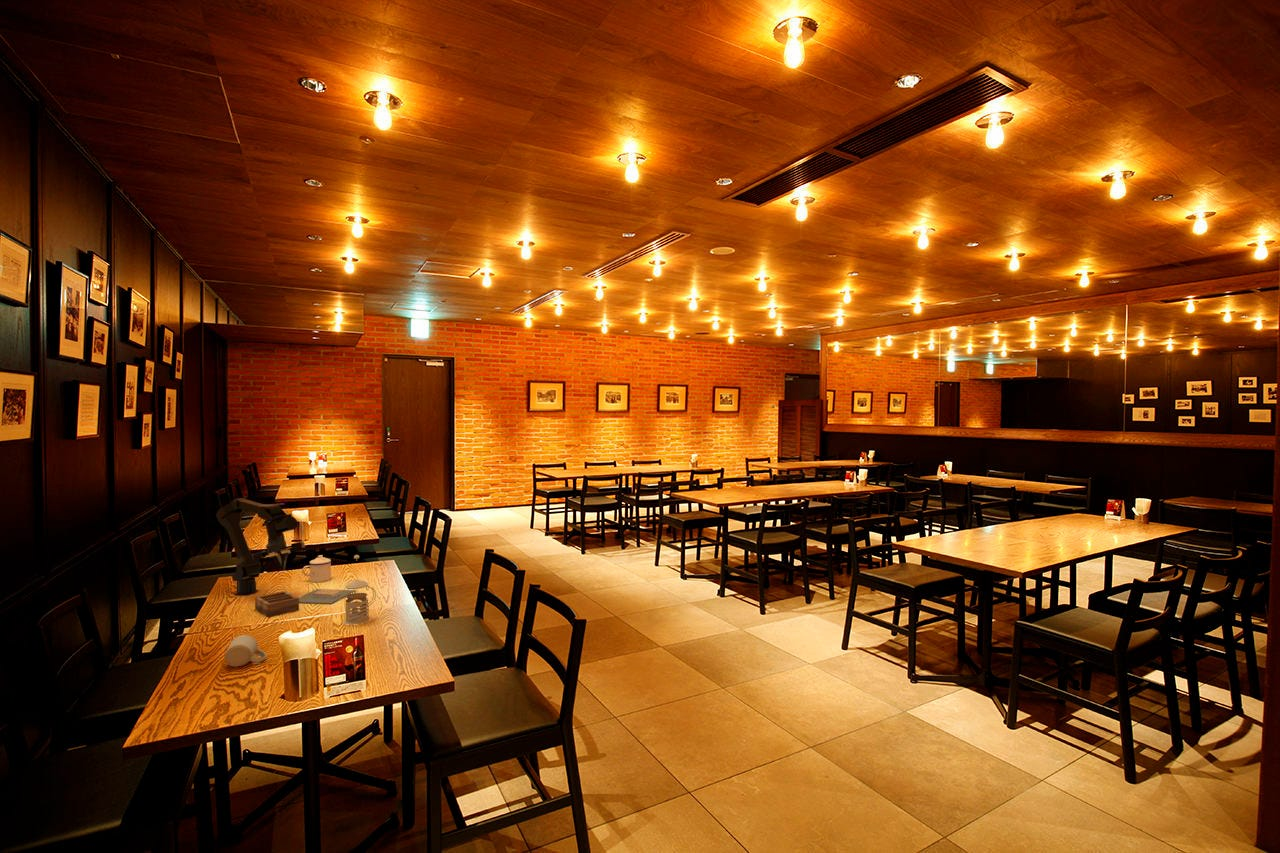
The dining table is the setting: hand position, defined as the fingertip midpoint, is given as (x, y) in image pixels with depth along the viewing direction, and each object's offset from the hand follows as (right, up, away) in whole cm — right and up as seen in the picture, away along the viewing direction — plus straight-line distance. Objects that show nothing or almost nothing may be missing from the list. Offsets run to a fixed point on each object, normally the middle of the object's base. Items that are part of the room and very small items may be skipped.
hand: (283, 570), depth 255 cm
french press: (+45, -13, -27) cm, 54 cm away
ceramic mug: (+27, -13, -66) cm, 72 cm away
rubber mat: (+16, -12, +2) cm, 20 cm away
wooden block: (+14, -10, +1) cm, 17 cm away
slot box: (+7, -12, -15) cm, 21 cm away
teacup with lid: (0, -11, +27) cm, 30 cm away
